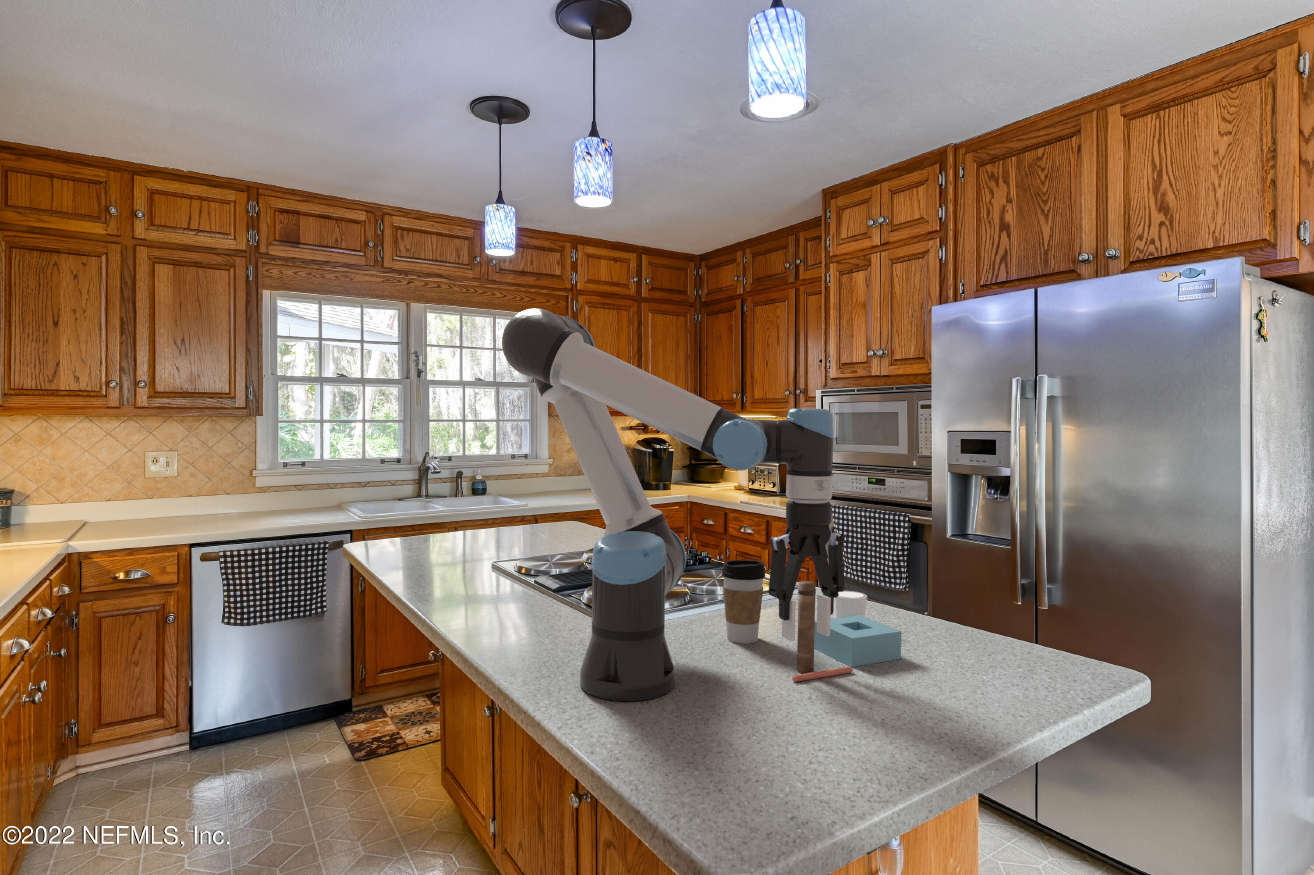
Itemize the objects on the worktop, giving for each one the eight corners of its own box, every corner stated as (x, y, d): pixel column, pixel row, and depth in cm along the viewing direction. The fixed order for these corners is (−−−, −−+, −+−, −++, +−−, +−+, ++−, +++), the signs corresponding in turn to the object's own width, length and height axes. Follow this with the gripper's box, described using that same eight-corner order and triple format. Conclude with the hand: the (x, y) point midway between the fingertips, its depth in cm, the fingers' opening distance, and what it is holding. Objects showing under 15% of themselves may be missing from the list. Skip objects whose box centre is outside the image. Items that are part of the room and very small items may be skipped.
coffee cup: (750, 648, 132) (752, 568, 132) (711, 639, 137) (713, 562, 137) (772, 637, 139) (773, 561, 138) (734, 629, 144) (735, 555, 143)
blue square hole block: (851, 667, 123) (851, 638, 123) (812, 647, 133) (813, 621, 133) (900, 659, 128) (901, 631, 127) (859, 640, 138) (860, 615, 137)
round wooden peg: (803, 674, 119) (805, 585, 119) (793, 669, 122) (794, 581, 121) (817, 672, 120) (819, 584, 120) (807, 666, 123) (809, 580, 122)
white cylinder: (870, 633, 142) (871, 598, 142) (835, 632, 143) (836, 598, 142) (861, 623, 149) (862, 590, 149) (828, 622, 149) (829, 589, 149)
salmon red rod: (794, 683, 115) (794, 677, 115) (790, 681, 116) (790, 675, 116) (853, 673, 120) (854, 667, 120) (850, 671, 121) (850, 665, 121)
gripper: (772, 505, 113) (769, 649, 113) (869, 500, 121) (866, 636, 121) (747, 499, 120) (744, 636, 120) (841, 495, 127) (838, 623, 128)
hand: (806, 635), depth 121 cm, fingers open, 6 cm apart
